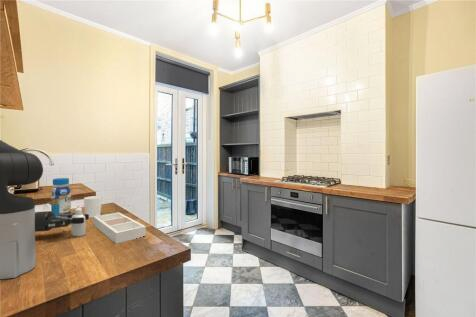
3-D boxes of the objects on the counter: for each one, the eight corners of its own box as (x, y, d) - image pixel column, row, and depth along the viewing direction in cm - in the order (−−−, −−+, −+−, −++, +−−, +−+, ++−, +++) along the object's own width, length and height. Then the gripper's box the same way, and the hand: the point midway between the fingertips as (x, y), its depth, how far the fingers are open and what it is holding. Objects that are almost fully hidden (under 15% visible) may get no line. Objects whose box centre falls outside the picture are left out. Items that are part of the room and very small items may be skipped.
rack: (145, 236, 91) (145, 226, 91) (116, 243, 83) (116, 233, 83) (119, 220, 112) (118, 212, 112) (93, 225, 105) (93, 216, 104)
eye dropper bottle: (84, 231, 96) (84, 203, 95) (86, 235, 91) (85, 206, 91) (71, 234, 93) (71, 205, 92) (72, 238, 88) (72, 207, 88)
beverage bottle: (53, 215, 121) (53, 178, 121) (72, 213, 125) (72, 177, 125) (48, 219, 114) (48, 179, 113) (69, 217, 117) (69, 179, 117)
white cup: (81, 218, 115) (81, 199, 115) (87, 214, 122) (87, 196, 122) (98, 217, 117) (98, 198, 117) (103, 213, 125) (103, 195, 124)
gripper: (24, 217, 81) (79, 213, 86) (46, 207, 95) (92, 205, 99) (24, 237, 81) (79, 233, 86) (46, 225, 95) (92, 222, 100)
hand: (86, 218), depth 93 cm, fingers closed on eye dropper bottle, 4 cm apart
